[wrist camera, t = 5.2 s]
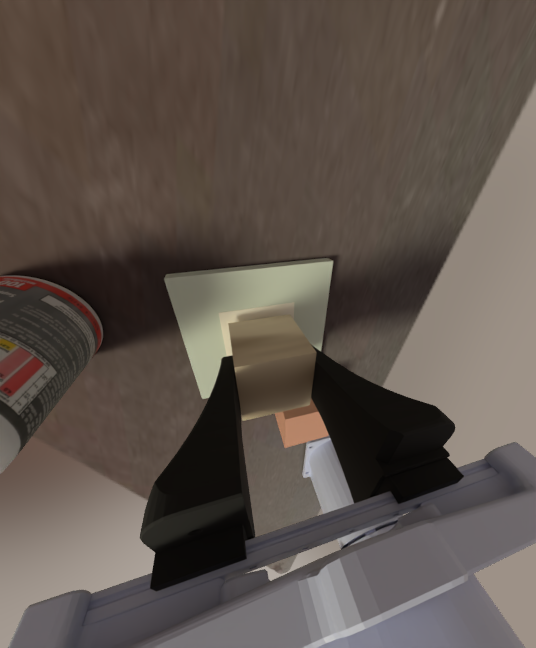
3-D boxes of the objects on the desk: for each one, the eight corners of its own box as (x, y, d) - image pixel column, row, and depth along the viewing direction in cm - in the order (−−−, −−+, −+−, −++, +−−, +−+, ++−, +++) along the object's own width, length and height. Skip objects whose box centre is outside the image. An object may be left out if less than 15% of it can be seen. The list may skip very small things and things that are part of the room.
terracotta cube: (310, 399, 21) (328, 436, 18) (272, 407, 20) (284, 447, 17) (313, 371, 19) (334, 407, 16) (272, 379, 18) (285, 419, 15)
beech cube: (288, 360, 15) (309, 405, 12) (235, 370, 14) (242, 421, 11) (289, 314, 13) (316, 352, 10) (228, 323, 12) (234, 367, 9)
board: (314, 368, 19) (318, 375, 18) (202, 391, 17) (202, 399, 16) (327, 258, 13) (333, 261, 13) (166, 274, 12) (163, 278, 11)
